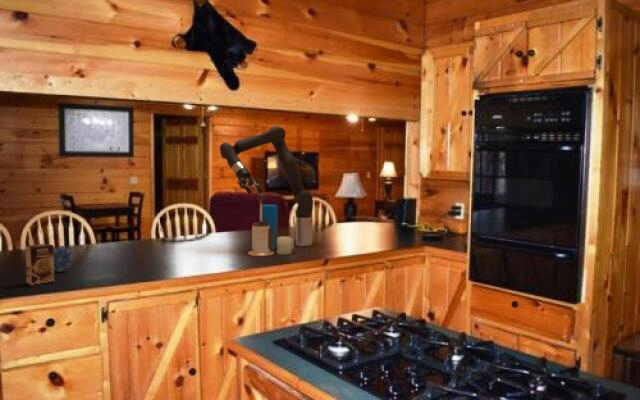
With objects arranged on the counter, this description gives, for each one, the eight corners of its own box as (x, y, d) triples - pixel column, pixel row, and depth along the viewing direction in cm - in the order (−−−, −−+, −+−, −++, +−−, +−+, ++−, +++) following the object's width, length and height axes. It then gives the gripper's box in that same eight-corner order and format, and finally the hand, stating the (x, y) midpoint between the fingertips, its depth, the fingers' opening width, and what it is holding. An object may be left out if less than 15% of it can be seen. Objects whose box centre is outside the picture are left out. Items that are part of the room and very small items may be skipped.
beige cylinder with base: (266, 250, 310) (266, 221, 308) (278, 254, 298) (278, 224, 297) (244, 252, 302) (244, 223, 301) (255, 257, 290) (255, 226, 289)
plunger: (263, 232, 303) (263, 193, 301) (267, 233, 298) (267, 194, 297) (254, 233, 300) (254, 194, 298) (259, 234, 296) (259, 194, 294)
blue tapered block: (274, 248, 316) (274, 206, 314) (257, 248, 318) (257, 205, 316) (279, 245, 326) (279, 204, 324) (262, 245, 328) (262, 204, 326)
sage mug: (288, 251, 309) (288, 235, 308) (296, 253, 302) (296, 237, 302) (274, 252, 304) (274, 236, 303) (281, 255, 297) (281, 238, 296)
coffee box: (32, 286, 223) (30, 247, 222) (26, 283, 227) (24, 245, 226) (54, 282, 230) (53, 244, 228) (48, 279, 234) (47, 243, 233)
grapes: (72, 269, 256) (71, 244, 255) (74, 272, 250) (73, 246, 249) (44, 271, 250) (44, 246, 249) (45, 274, 244) (45, 248, 243)
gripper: (235, 167, 298) (250, 188, 292) (253, 166, 309) (268, 187, 303) (228, 176, 302) (243, 198, 296) (246, 175, 313) (261, 196, 307)
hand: (256, 192), depth 300 cm, fingers open, 8 cm apart
